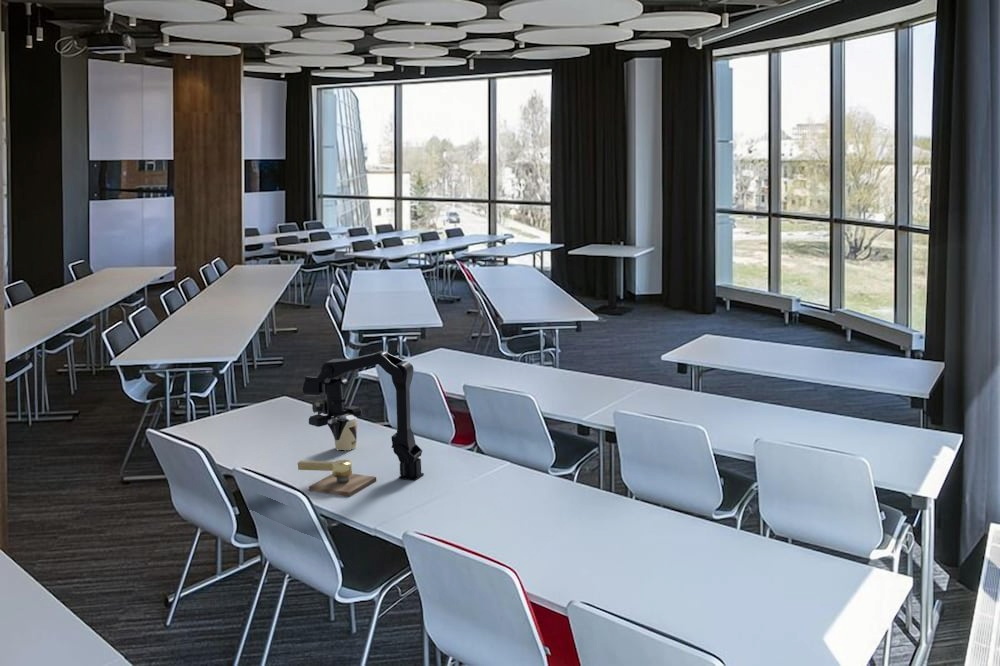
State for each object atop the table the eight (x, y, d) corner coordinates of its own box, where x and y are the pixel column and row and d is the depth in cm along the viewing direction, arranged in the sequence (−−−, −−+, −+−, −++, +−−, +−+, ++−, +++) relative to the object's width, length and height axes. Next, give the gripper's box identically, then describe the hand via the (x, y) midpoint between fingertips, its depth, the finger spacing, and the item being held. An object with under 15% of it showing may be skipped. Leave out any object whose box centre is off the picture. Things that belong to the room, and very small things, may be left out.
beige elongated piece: (354, 471, 309) (354, 460, 308) (348, 477, 302) (347, 466, 302) (303, 470, 312) (302, 458, 311) (295, 476, 305) (295, 464, 305)
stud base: (376, 481, 311) (375, 470, 310) (349, 496, 296) (349, 485, 296) (336, 475, 317) (336, 465, 317) (308, 490, 303) (308, 480, 302)
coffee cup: (356, 451, 344) (354, 420, 342) (331, 452, 344) (329, 421, 342) (360, 444, 353) (358, 414, 351) (336, 444, 353) (334, 414, 351)
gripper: (342, 387, 328) (344, 430, 330) (297, 398, 314) (301, 442, 317) (361, 392, 320) (364, 435, 323) (316, 403, 307) (320, 448, 309)
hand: (337, 440), depth 318 cm, fingers closed
